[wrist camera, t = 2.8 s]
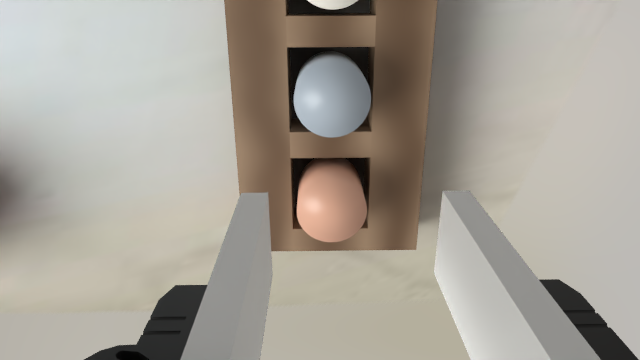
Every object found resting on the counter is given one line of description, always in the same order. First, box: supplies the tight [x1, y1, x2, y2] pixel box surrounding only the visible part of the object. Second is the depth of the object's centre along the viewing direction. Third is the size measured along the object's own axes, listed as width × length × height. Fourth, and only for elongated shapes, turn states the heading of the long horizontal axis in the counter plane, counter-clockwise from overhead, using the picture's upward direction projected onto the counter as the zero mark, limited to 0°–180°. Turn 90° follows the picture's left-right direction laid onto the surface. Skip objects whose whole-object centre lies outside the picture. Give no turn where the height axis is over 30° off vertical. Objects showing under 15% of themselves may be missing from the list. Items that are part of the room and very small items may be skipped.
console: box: [224, 0, 437, 251], centre depth 34 cm, size 14×26×4 cm, turn 0°
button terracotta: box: [297, 158, 367, 242], centre depth 35 cm, size 5×5×5 cm
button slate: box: [294, 51, 371, 138], centre depth 32 cm, size 5×5×5 cm
